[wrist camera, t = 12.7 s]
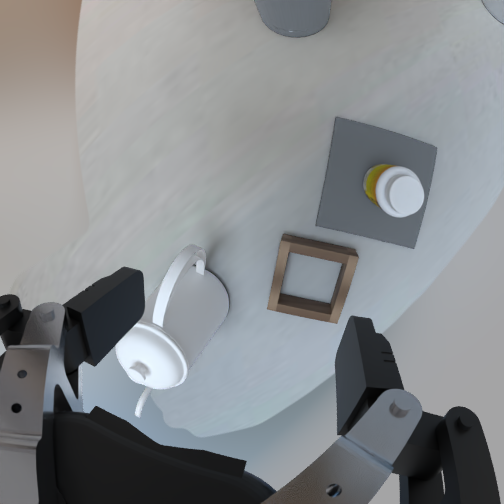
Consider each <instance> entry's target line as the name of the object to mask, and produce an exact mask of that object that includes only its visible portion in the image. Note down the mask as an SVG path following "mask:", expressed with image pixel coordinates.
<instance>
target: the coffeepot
mask: <svg viewBox="0 0 504 504" xmlns="http://www.w3.org/2000/svg"><path fill="white" fill-rule="evenodd" d="M196 252H197V256H195V255H194V254H195V253H196ZM195 263H196V266H193V264H195ZM205 265H206V252H205V250H204V249H202V248H200V247H198V246H196V245H189V246H187V247H185V248H184V249H183V250H182V251H181V252H180V253H179V254H178V256H177V257H176V259H175V260H174V261H173V263H172V265H171V266H170V268H169V270H168V272H167V274H166V276H165V278H164V280H163V281H162V282H161V283H160V285H159V286H158V287H157V288H156V289H155V290H154V291H153V293H152V294H151V295H150V296H149V297H148V299H147V300H146V301H145V310H144V314H143V316H142V318H141V319H140V320H139V321H138V322H137V323H136V324H135V325H134V326H133V327H132V328H131V330H130V331H129V332H128V333H127V334H126V335H125V336H124V337H123V338H122V339H121V340H120V341H119V342H118V343H117V344H116V354H117V357H118V360H119V362H120V364H121V365H122V367H123V368H124V369H125V371H126V372H127V374H128V376H129V377H130V379H132V380H133V381H134V382H136V383H140V384H143V385H145V386H147V387H146V388H145V390H144V391H143V393H142V395H141V397H140V399H139V401H138V403H137V406H136V410H135V415H136V416H138V417H139V418H140V417H141V412H142V408H143V405H144V403H145V400H146V399H147V397H148V395H149V394H150V392H151V390H152V389H153V388H154V389H168V388H171V387H175V386H178V385H180V384H181V383H183V382H184V381H185V379H186V377H187V376H188V373H189V370H190V368H191V367H192V365H193V364H194V363H195V361H196V360H197V358H198V357H199V355H200V354H201V353H202V351H203V350H204V348H205V347H206V346H207V344H208V343H209V341H210V340H211V338H212V337H213V336H214V334H215V333H216V331H217V330H218V328H219V327H220V326H221V324H222V323H223V321H224V320H225V318H226V316H227V314H228V310H229V299H228V294H227V292H226V289H225V288H224V286H223V284H222V283H221V282H220V280H219V279H218V278H217V277H216V276H214V275H213V274H212V273H210V272H209V271H207V270H205Z"/></svg>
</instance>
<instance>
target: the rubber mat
mask: <svg viewBox="0 0 504 504" xmlns="http://www.w3.org/2000/svg"><path fill="white" fill-rule="evenodd" d="M436 154H437V147H435V146H432V145H429V144H427V143H424V142H421V141H418V140H416V139H413V138H410V137H407V136H404V135H401V134H398V133H395V132H391V131H388V130H385V129H382V128H378V127H375V126H371V125H367V124H364V123H360V122H356V121H352V120H348V119H344V118H339V117H336V119H335V126H334V132H333V138H332V144H331V150H330V155H329V161H328V166H327V172H326V177H325V182H324V187H323V192H322V197H321V202H320V207H319V212H318V217H317V221H316V226H319V227H324V228H328V229H333V230H337V231H342V232H346V233H351V234H355V235H359V236H363V237H368V238H372V239H376V240H380V241H384V242H388V243H392V244H396V245H400V246H404V247H408V248H412V249H414V247H415V244H416V241H417V237H418V234H419V230H420V227H421V223H422V219H423V216H424V212H425V208H426V204H427V199H428V195H429V191H430V186H431V181H432V176H433V171H434V166H435V160H436ZM378 164H387V165H394V166H401V167H405V168H408V169H410V170H411V171H413V172H414V173H415V174H416V175H417V177H418V178H419V180H420V182H421V185H422V187H423V190H424V201H423V204H422V206H421V208H420V209H419V210H418V211H417V212H415V213H414V214H411V215H409V216H406V217H401V218H399V217H393V216H391V215H389V214H387V213H386V212H384V211H383V210H382V209H381V208H379V207H378V206H377V205H375V204H374V203H373V202H371V201H370V200H369V199H368V197H367V196H366V194H365V191H364V187H363V181H364V177H365V175H366V173H367V171H368V170H369V169H370V168H371V167H373V166H375V165H378Z"/></svg>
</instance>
